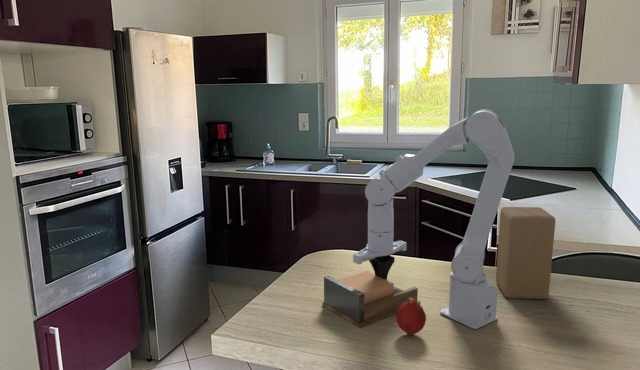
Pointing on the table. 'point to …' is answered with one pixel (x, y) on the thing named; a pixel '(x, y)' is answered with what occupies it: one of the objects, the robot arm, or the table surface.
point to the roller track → (362, 302)
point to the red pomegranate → (411, 317)
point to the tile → (369, 286)
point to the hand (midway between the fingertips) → (380, 286)
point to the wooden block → (525, 252)
